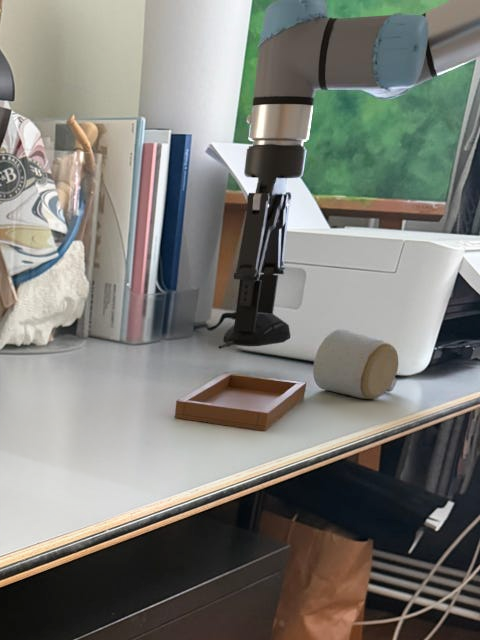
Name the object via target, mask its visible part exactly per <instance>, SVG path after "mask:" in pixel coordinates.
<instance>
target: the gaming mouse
mask: <svg viewBox="0 0 480 640" xmlns="http://www.w3.org/2000/svg"><path fill="white" fill-rule="evenodd" d="M291 336H292V335H291V330H290V325H289V324H288V323H287V322H285V321H284V320H283V319H281V318H280V317H279V316H277V315H276V314H274V313H273V314H269V313H262V312H258V313H257V319H256V326H255V332H245V331H234V324H233V325H232V326H230V327H229V328H228V329H227V331H226V332H225V333H224V334H223V338H222V339H223V340H222V342H223V343H224V344H221V345H219V346H218V349H219V350H220V349H223V348H228V347H231V346H237V347H262V346H269V345H275V344H281V343H285V342H286V341H288V340H290V339H291Z"/></svg>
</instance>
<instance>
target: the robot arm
mask: <svg viewBox="0 0 480 640" xmlns="http://www.w3.org/2000/svg"><path fill="white" fill-rule="evenodd" d="M327 5H328V4H327V2H326V1H325V0H276V1H273V2H271V3H270V4H269V5H268V6H267V7H266V9H265V11H264V14H263V20H262V26H261V32H260V38H259V43H258V45H257V50H258V52H257V61H256V71H255V80H254V88H253V89H254V90H253V98H252V107H251V114H248V115H247V116H246V122H247V124H249V132H248V140H249V141H251V142H252V145H248V148H246V154H245V163H244V168H243V169H244V170H243V174H244V176H245V178H250V179H251V178H257V183H256V188H255V191H254V192H248V194H247V197H246V200H247V201H246V202H247V203H246V213H245V217H244V223H243V230H242V236H241V243H240V246H239V253H238V258H237V265H236V269H235V272H234V273H233V280H239V285H238V294H237V302H236V308H235V316H234V317H235V318H234V323H233V325H234V331H245V332H255V326H256V319H257V313H258V312H262V313H269V314H274V309H275V303H276V302H275V301H276V295H277V288H278V280H279V275H285V272H286V267H284V265H285V253H286V242H287V233H288V232H287V231H288V223H289V222H288V221H289V212H290V205H291V200H292V197H293V195H292V191H287V179H300V178H302V177H303V175H304V170H305V164H306V156H307V149H306V146H304V142H307V141H308V140H309V139H310V133H311V132H310V131H311V125H312V118H313V117H312V116H313V110H314V101H315V94H316V91H334V90H335V91H336V90H337V91H345V90H346V91H363V92H366V93H367V94H369V96H372V97H375V98H377V99H380V100H391V99H395V98H397V97H400V96H403V95H405V94H406V93H408V92H409V91H410V90H411V89H412V88H413V87H416V86H418V85H420V84H422V83H425V82H427V81H430V80H432V79H433V78H435V77H437V76H440V75H442V74H444V73H447V72H449V71H452V70H454V69H457V68H459V67H461V66H463V65H467V64H468V63H471V62H473V61H475V60H478V59H480V0H449V1H447V2H445V3H442V4H441V5H438V6H436V7H434V8H432V9H429V10H428V11H426V12H424V13H422V14H403V13H401V12H396V13H393V14H388V15H373V16H357V17H356V16H355V17H342V18H338V17H328V16H329V15H328V13H327V12H328V6H327Z"/></svg>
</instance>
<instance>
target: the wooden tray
mask: <svg viewBox="0 0 480 640" xmlns="http://www.w3.org/2000/svg"><path fill="white" fill-rule="evenodd" d="M306 388H307V382H304V381H303V382H302V381H296V380H286V379H279V378H270V377H263V376H254V375H247V374H246V375H245V374H238V373H230V372H225V373H223V374H221V375H219V376H217V377H215V378H214V379H212V380H210V381H209V382H207V383H205V384H204V385H201V386H199V387H198V388H196V389H194V390H193V391H191V392H189V393H187V394H186V395H184V396H182V397H180V398H179V399H177V400H176V402H175V411H174V418H175V419H178V420H179V419H180V420H185V421H192V422H200V421H203V422H202V423H206V422H208V423H207V424H214V425H222V426H228V427H235V428H241V429H248V430H256V431H263V432H266V431H267V430H268V429H269V428H270V427H272V426H273V425H274V424H276V422H278V421H279V420H280V419H281V418H283V417H284V416H285V415H286V414H288V412H289V411H291V410H292V409H293V408H294V407H295V406H297V405H298V404H299V403H300V402H302V401H303V400H304V399H305V393H306Z"/></svg>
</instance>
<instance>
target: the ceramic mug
mask: <svg viewBox="0 0 480 640" xmlns="http://www.w3.org/2000/svg"><path fill="white" fill-rule="evenodd" d="M398 369H399V356H398V351H397V349H396V348H395V346H393V345H392V344H390V343H388V342H386V341H384V340H382V339H378V338H375V337H370V336H367V335H365V334H361V333H357V332H354V331H350V330H347V329H343V328H341V329H339V328H338V329H336V330H333V331H332V332H330V333H329V334H328V335H326V337H325V338H324V339H323V341H322V342H321V344H320V345H319V347H318V349H317V351H316V354H315V357H314V360H313V369H312V375H313V380H314V382H315V384H316V386H317V387H318V388H320V389H321V390H325V391H329V392H333V393H336V394H342V395H346V396H351V397H354V398H358V399H363V400H364V399H365V400H374V399H377V398H379V397H380V396H382V395H384V394H385V393H386V392H388V393H391V392H392V391H393V390H394V389H395V387H396V384H397V382H398V379H397V378H396V375H397V373H398Z"/></svg>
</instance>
